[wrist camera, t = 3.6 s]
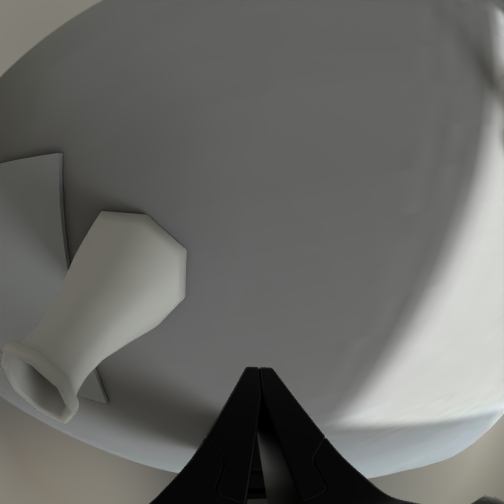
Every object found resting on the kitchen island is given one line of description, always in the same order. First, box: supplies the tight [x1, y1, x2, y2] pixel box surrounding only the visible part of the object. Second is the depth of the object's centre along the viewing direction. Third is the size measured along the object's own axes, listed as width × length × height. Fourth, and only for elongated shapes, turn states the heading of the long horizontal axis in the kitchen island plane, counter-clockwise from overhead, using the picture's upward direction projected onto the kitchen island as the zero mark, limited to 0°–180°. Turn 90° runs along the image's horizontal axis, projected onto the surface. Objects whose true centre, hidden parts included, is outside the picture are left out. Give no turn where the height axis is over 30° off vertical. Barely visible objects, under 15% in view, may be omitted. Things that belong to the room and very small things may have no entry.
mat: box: [0, 153, 109, 404], centre depth 16 cm, size 20×13×1 cm, turn 176°
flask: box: [1, 211, 187, 424], centre depth 11 cm, size 7×7×10 cm
